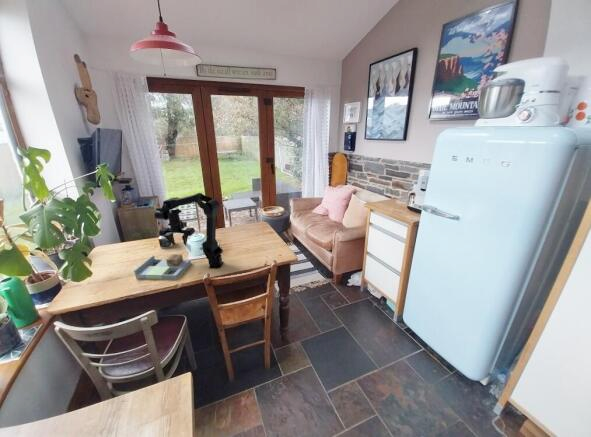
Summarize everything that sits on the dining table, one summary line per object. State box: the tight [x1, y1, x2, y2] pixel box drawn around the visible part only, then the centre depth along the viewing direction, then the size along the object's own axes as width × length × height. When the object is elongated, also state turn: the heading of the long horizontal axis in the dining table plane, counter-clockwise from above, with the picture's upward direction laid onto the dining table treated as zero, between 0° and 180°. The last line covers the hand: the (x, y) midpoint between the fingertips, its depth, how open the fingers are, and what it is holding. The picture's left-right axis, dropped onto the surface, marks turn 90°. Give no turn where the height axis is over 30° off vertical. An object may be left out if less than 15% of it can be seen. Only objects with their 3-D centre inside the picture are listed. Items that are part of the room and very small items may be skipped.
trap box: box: [133, 254, 192, 280], centre depth 136 cm, size 23×16×5 cm
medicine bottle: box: [158, 228, 174, 249], centre depth 164 cm, size 7×7×12 cm
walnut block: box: [166, 253, 184, 266], centre depth 138 cm, size 6×6×4 cm
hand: (180, 245), depth 142 cm, fingers open, 7 cm apart
